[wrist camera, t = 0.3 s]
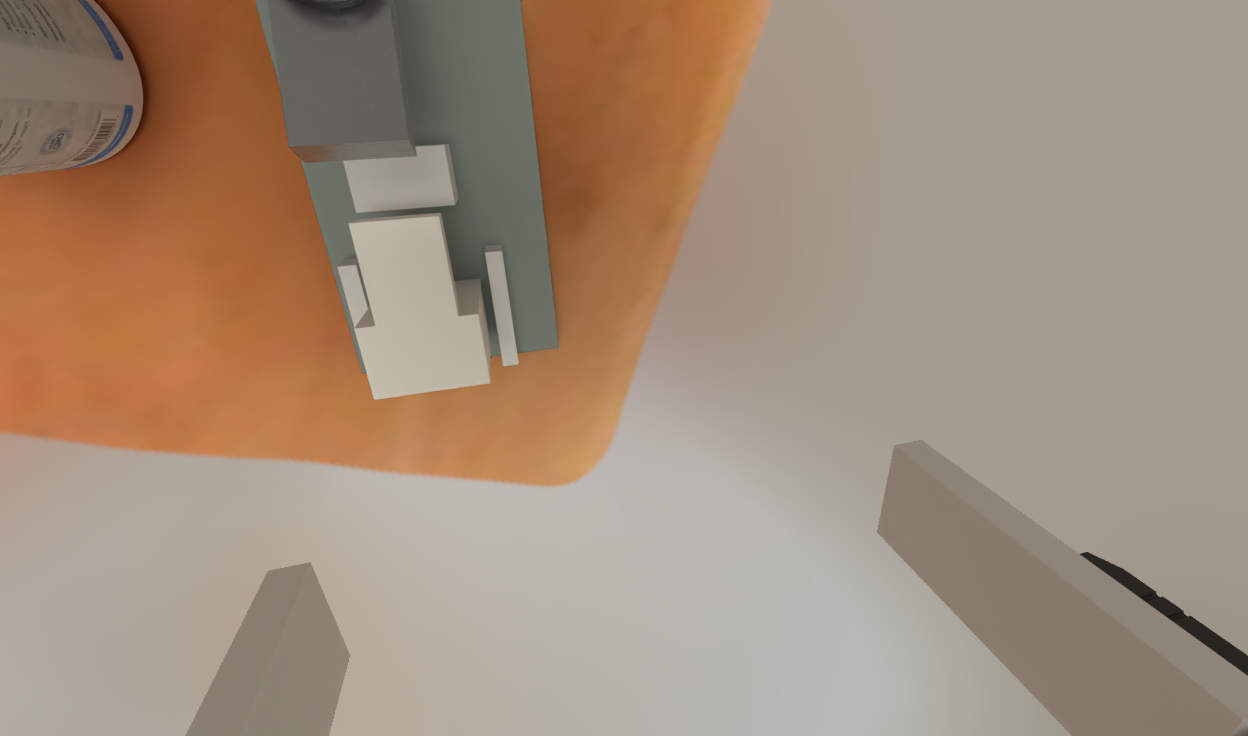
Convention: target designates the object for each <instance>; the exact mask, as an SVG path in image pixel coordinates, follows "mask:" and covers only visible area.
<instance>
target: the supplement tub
mask: <svg viewBox="0 0 1248 736" xmlns="http://www.w3.org/2000/svg"><path fill="white" fill-rule="evenodd" d="M142 110H143V88H142V81H141V78H140V74H139V70H138V67H137V65H136V62H135V60H134V57H133V55H132V53H131V51H130V49H129V47H128V45H127V43H126V42H125V40H124V38H123V37H122V35H121V34H120V32H119V30H118V29H117V27H116V26H115V25H114V23H113V22H112V21H111V19H110V18H109V17H108V15H107V14H106V13H105V12H104V11H103V10H102V8H101V7H100V6H99V5H98V4H97V3H96V2H95V1H94V0H0V176H6V175H16V174H25V173H34V172H43V171H52V170H61V169H69V168H77V167H83V166H88V165H91V164H95V163H98V162H101V161H103V160H106V159H108V158H109V157H111V156H113V155H115V154H116V153H118V152H119V151H120V150H121V149H122V148H123V147H125V145H126V144H127V143H128V142H129V141H130V140H131V138H132V137H133V135H134V133H135V132H136V130H137V128H138V125H139V122H140V119H141V115H142Z"/></svg>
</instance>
